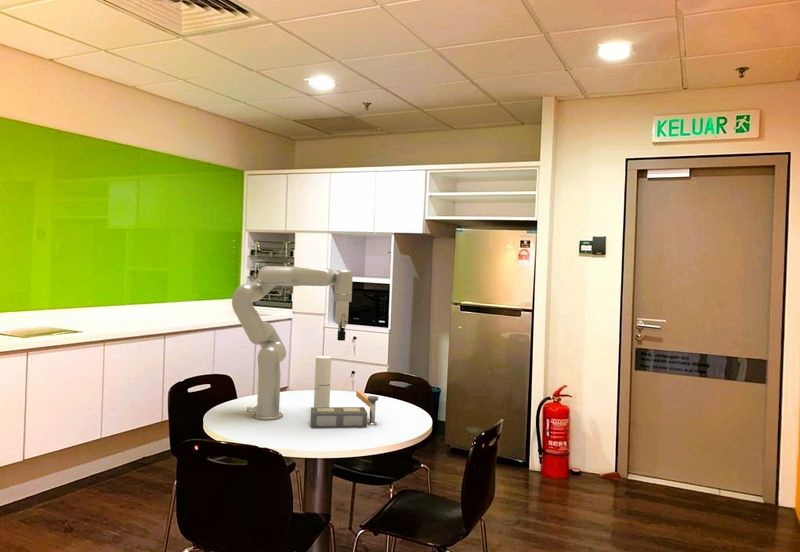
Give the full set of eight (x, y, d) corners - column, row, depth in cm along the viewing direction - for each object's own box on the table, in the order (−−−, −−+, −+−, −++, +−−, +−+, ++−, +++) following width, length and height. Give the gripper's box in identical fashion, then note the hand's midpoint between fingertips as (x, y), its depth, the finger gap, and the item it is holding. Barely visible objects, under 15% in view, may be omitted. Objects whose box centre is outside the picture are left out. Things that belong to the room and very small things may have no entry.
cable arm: (353, 396, 281) (354, 386, 281) (362, 395, 283) (363, 386, 283) (369, 409, 256) (369, 398, 256) (379, 408, 258) (379, 398, 258)
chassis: (311, 428, 249) (312, 413, 248) (310, 421, 260) (310, 406, 260) (366, 427, 253) (367, 412, 253) (363, 420, 264) (363, 406, 264)
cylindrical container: (326, 413, 275) (328, 358, 274) (311, 412, 276) (313, 357, 276) (331, 410, 282) (333, 356, 281) (316, 408, 283) (318, 355, 283)
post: (368, 425, 257) (368, 401, 257) (366, 422, 261) (367, 399, 261) (377, 425, 258) (378, 401, 258) (375, 422, 262) (376, 399, 262)
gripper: (332, 296, 269) (331, 338, 269) (335, 298, 254) (334, 342, 254) (349, 297, 270) (348, 338, 270) (353, 299, 255) (351, 342, 255)
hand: (341, 340), depth 262 cm, fingers closed
